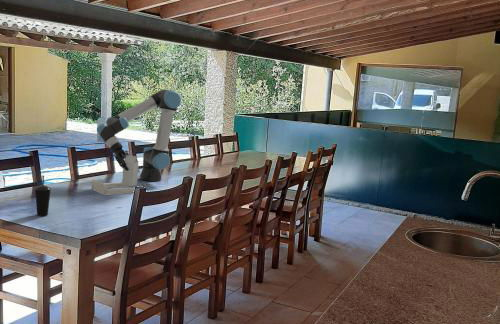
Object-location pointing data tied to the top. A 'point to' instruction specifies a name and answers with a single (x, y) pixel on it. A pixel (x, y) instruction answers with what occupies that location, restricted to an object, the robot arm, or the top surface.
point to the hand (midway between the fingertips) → (135, 173)
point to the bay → (103, 187)
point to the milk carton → (133, 165)
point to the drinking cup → (42, 199)
